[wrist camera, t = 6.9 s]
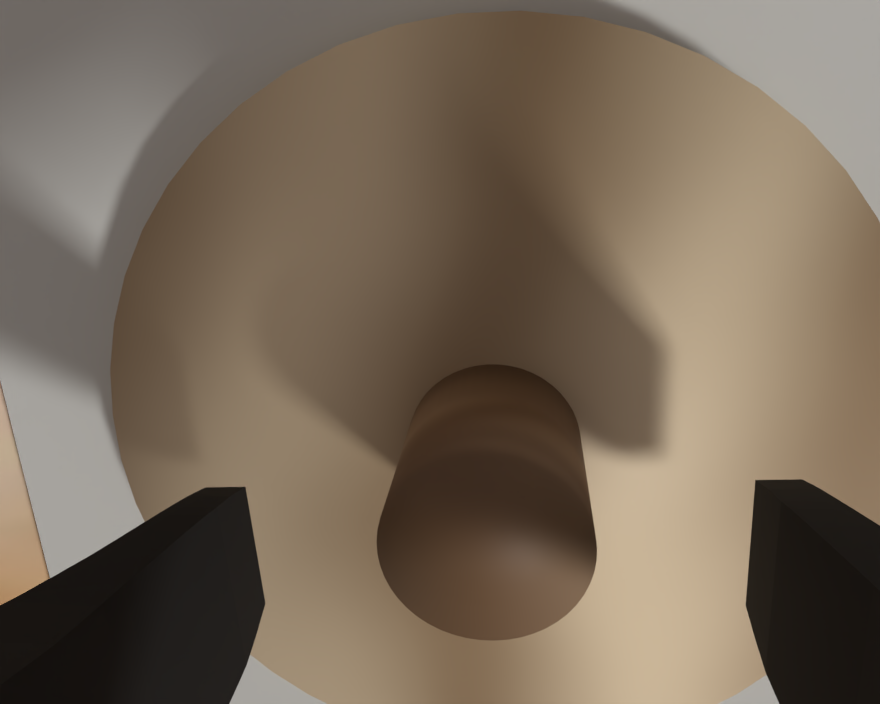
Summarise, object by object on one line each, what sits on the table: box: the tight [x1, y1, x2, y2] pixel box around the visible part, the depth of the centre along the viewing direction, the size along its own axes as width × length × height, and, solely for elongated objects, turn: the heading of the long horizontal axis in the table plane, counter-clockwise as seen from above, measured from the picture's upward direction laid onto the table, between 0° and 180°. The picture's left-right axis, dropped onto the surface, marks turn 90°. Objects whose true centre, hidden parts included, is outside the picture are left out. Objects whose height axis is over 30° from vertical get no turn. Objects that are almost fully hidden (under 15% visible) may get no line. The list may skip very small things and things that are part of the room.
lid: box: [110, 11, 880, 704], centre depth 12 cm, size 13×13×4 cm
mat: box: [0, 0, 880, 704], centre depth 14 cm, size 18×16×1 cm
